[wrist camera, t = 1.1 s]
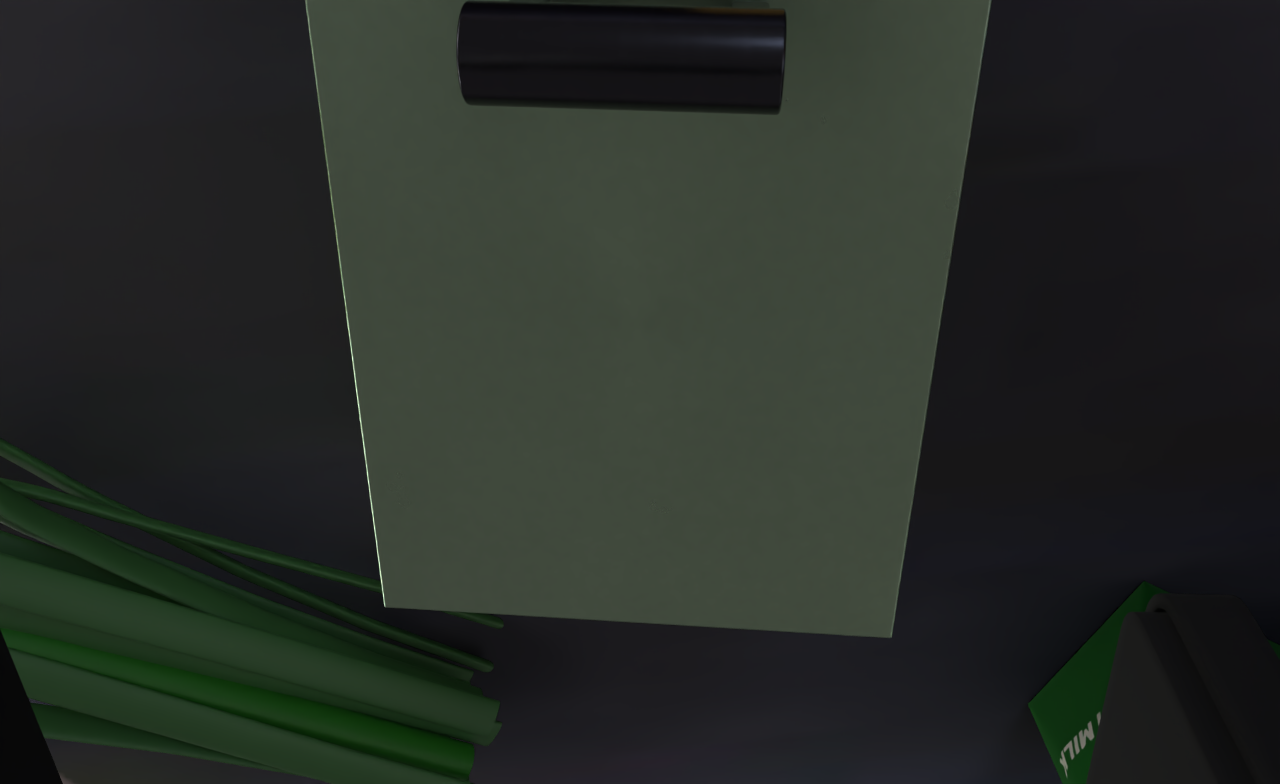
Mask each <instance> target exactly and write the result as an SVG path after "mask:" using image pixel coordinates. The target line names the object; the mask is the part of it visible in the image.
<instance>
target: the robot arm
mask: <svg viewBox="0 0 1280 784" xmlns="http://www.w3.org/2000/svg"><path fill="white" fill-rule="evenodd" d="M0 784H63V783H62V781H61V778H60V776H59V773H58V771H57V768H56V766H55V763H54V761H53V758H52V756H51V753H50V751H49V748H48V746H47V743H46V741H45V739H44V736H43V734H42V731H41V729H40V726H39V724H38V721H37V719H36V716H35V714H34V711H33V709H32V706H31V704H30V701H29V699H28V696H27V694H26V692H25V689H24V687H23V684H22V682H21V679H20V677H19V674H18V672H17V669H16V667H15V664H14V662H13V659H12V657H11V654H10V652H9V649H8V647H7V645H6V642H5V640H4V637H3V635H2V632H1V630H0ZM1086 784H1280V659H1279V658H1278V656H1277V655H1276V653H1275V651H1274V650H1273V648H1272V646H1271V645H1270V643H1269V642H1268V640H1267V638H1266V637H1265V635H1264V633H1263V632H1262V630H1261V628H1260V627H1259V625H1258V624H1257V622H1256V620H1255V619H1254V617H1253V615H1252V614H1251V612H1250V610H1249V609H1248V607H1247V606H1246V605H1245V604H1244V603H1243V601H1242V600H1241V599H1240V598H1238V597H1236V596H1234V595H1211V594H1169V593H1159V594H1156V595H1154V596H1153V597H1152V598H1151V599H1150V601H1149V602H1148V605H1147V608H1146V611H1145V612H1129V613H1127V615H1126V616H1125V617H1124V620H1123V623H1122V626H1121V630H1120V635H1119V639H1118V643H1117V648H1116V652H1115V657H1114V661H1113V666H1112V670H1111V674H1110V679H1109V683H1108V688H1107V692H1106V697H1105V701H1104V705H1103V710H1102V714H1101V719H1100V723H1099V727H1098V732H1097V736H1096V741H1095V745H1094V750H1093V754H1092V758H1091V763H1090V767H1089V772H1088V776H1087V781H1086Z"/></svg>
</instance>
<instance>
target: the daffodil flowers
mask: <svg viewBox="0 0 1280 784" xmlns="http://www.w3.org/2000/svg"><path fill="white" fill-rule="evenodd" d="M0 456H2V457H4V458H6V459H7V460H9V461H11V462H13V463H15V464H17V465H18V466H20V467H22V468H24V469H26V470H28V471H29V472H31V473H33V474H35V475H36V476H38V477H40V478H42V479H43V480H45V481H47V482H49V483H50V484H52V485H54V486H55V487H57V488H59V489H61V490H63V491H65V492H67V493H69V494H67V493H63V492H60V491H56V490H52V489H48V488H44V487H40V486H36V485H32V484H28V483H23V482H18V481H13V480H8V479H3V478H0V523H2V524H4V525H6V526H8V527H10V528H12V529H14V530H16V531H18V532H21V533H23V534H25V535H28V536H30V537H32V538H35V539H37V540H39V541H42V542H44V543H46V544H49V545H51V546H54V547H56V548H58V549H56V548H53V547H50V546H46V545H43V544H40V543H37V542H34V541H31V540H28V539H25V538H22V537H19V536H16V535H13V534H10V533H7V532H4V531H1V530H0V630H1V632H2V635H3V637H4V640H5V642H6V645H7V647H8V649H9V652H10V654H11V657H12V659H13V662H14V664H15V667H16V669H17V672H18V674H19V677H20V679H21V682H22V684H23V687H24V689H25V692H26V694H27V696H28V698H31V699H34V700H38V701H41V702H45V703H48V704H52V705H56V706H51V705H43V704H36V703H30V704H31V706H32V709H33V711H34V714H35V716H36V719H37V721H38V724H39V726H40V729H41V731H42V734H43V736H44V738H50V739H58V740H66V741H74V742H82V743H90V744H98V745H106V746H114V747H122V748H130V749H138V750H146V751H154V752H162V753H170V754H176V755H182V756H188V757H194V758H199V759H205V760H211V761H217V762H223V763H229V764H235V765H240V766H246V767H252V768H258V769H264V770H270V771H276V772H281V773H287V774H293V775H299V776H305V777H310V778H314V779H317V780H321V781H324V782H328V783H331V784H473V783H470V782H469V774H470V771H471V769H472V765H473V761H474V746H473V744H470V743H467V742H463V741H460V740H464V741H468V742H472V743H476V744H480V745H484V746H488V745H489V744H490V743H491V742H492V741H493V740H494V738H495V737H496V735H497V734H498V732H499V730H500V728H501V725H502V722H499V721H496V720H495V719H496V716H497V713H498V710H499V705H500V701H498V700H494V699H491V698H488V697H484V696H483V693H482V690H481V688H478V687H475V686H472V685H470V680H471V678H472V676H473V673H474V671H472V670H469V669H466V668H463V667H460V666H457V665H454V664H451V663H448V662H445V661H442V660H439V659H436V658H433V657H430V656H427V655H424V654H421V653H418V652H415V651H412V650H409V649H406V648H403V647H400V646H397V645H394V644H391V643H388V642H385V641H382V640H379V639H376V638H373V637H370V636H367V635H364V634H362V633H359V632H356V631H354V630H351V629H348V628H345V627H343V626H340V625H337V624H334V623H332V622H329V621H326V620H323V619H321V618H318V617H315V616H312V615H310V614H307V613H304V612H301V611H299V610H296V609H293V608H290V607H288V606H285V605H282V604H280V603H277V602H274V601H271V600H269V599H266V598H263V597H260V596H258V595H255V594H253V593H250V592H248V591H245V590H243V589H240V588H238V587H235V586H233V585H230V584H228V583H225V582H223V581H220V580H218V579H215V578H213V577H210V576H208V575H205V574H202V573H200V572H197V571H195V570H192V569H190V568H187V567H185V566H182V565H180V564H177V563H175V562H172V561H170V560H167V559H165V558H162V557H160V556H157V555H155V554H152V553H150V552H147V551H145V550H142V549H140V548H137V547H135V546H132V545H130V544H127V543H125V542H123V541H120V540H118V539H115V538H113V537H111V536H108V535H106V534H103V533H101V532H99V531H96V530H94V529H92V528H90V527H87V526H85V525H83V524H81V523H78V522H76V521H74V520H71V519H69V518H67V517H64V516H62V515H60V514H57V513H55V512H53V511H51V510H48V509H46V508H44V507H42V506H40V505H38V504H36V503H35V502H33V501H31V500H29V499H28V498H26V497H29V498H33V499H37V500H41V501H45V502H49V503H53V504H56V505H60V506H64V507H67V508H71V509H74V510H78V511H81V512H84V513H88V514H91V515H94V516H98V517H101V518H104V519H108V520H112V521H115V522H119V523H122V524H126V525H130V526H133V527H137V528H139V529H141V530H143V531H145V532H147V533H149V534H151V535H153V536H155V537H157V538H159V539H161V540H163V541H165V542H168V543H170V544H172V545H174V546H176V547H178V548H180V549H182V550H184V551H186V552H188V553H190V554H192V555H194V556H196V557H198V558H200V559H202V560H205V561H207V562H209V563H211V564H213V565H215V566H217V567H219V568H221V569H223V570H225V571H227V572H229V573H231V574H233V575H235V576H237V577H240V578H242V579H244V580H247V581H249V582H251V583H254V584H256V585H259V586H261V587H263V588H266V589H268V590H271V591H273V592H275V593H278V594H280V595H283V596H285V597H287V598H290V599H292V600H295V601H297V602H299V603H302V604H304V605H306V606H309V607H311V608H314V609H316V610H318V611H321V612H323V613H326V614H328V615H330V616H333V617H335V618H338V619H340V620H342V621H345V622H347V623H349V624H352V625H354V626H357V627H359V628H361V629H364V630H366V631H369V632H372V633H375V634H378V635H380V636H383V637H386V638H389V639H392V640H395V641H397V642H400V643H403V644H406V645H409V646H412V647H414V648H417V649H420V650H423V651H426V652H429V653H431V654H434V655H437V656H440V657H443V658H446V659H448V660H451V661H454V662H457V663H460V664H463V665H465V666H468V667H471V668H474V669H477V670H480V671H482V672H490V671H491V670H492V669H493V668H494V665H493V663H492V662H491V661H489V660H486V659H483V658H481V657H478V656H475V655H472V654H469V653H467V652H464V651H461V650H458V649H455V648H453V647H450V646H447V645H444V644H441V643H439V642H436V641H433V640H430V639H427V638H425V637H422V636H419V635H416V634H413V633H411V632H408V631H405V630H402V629H399V628H397V627H394V626H391V625H388V624H385V623H383V622H380V621H377V620H374V619H372V618H369V617H367V616H365V615H362V614H360V613H357V612H355V611H353V610H350V609H348V608H346V607H343V606H341V605H338V604H336V603H334V602H331V601H329V600H327V599H324V598H322V597H320V596H317V595H315V594H312V593H310V592H308V591H305V590H303V589H301V588H298V587H296V586H294V585H291V584H289V583H286V582H284V581H282V580H279V579H277V578H275V577H272V576H270V575H267V574H265V573H263V572H260V571H258V570H256V569H253V568H251V567H249V566H246V565H244V564H242V563H240V562H238V561H236V560H234V559H232V558H230V557H228V556H226V555H224V554H222V553H220V552H218V551H216V550H214V549H218V550H221V551H225V552H229V553H232V554H236V555H240V556H243V557H247V558H251V559H254V560H258V561H262V562H266V563H269V564H273V565H277V566H281V567H284V568H288V569H292V570H296V571H299V572H303V573H307V574H311V575H314V576H318V577H322V578H326V579H329V580H333V581H337V582H341V583H344V584H348V585H352V586H356V587H359V588H363V589H367V590H371V591H374V592H378V593H381V594H383V593H382V585H381V581H379V580H375V579H371V578H368V577H364V576H360V575H356V574H353V573H349V572H345V571H342V570H338V569H334V568H331V567H327V566H323V565H320V564H316V563H312V562H309V561H305V560H301V559H298V558H294V557H290V556H287V555H283V554H279V553H276V552H272V551H268V550H265V549H261V548H257V547H254V546H250V545H246V544H243V543H239V542H236V541H232V540H228V539H225V538H221V537H218V536H214V535H211V534H207V533H203V532H200V531H196V530H193V529H189V528H185V527H182V526H178V525H175V524H171V523H167V522H164V521H160V520H157V519H153V518H150V517H147V516H145V515H143V514H141V513H139V512H137V511H135V510H133V509H131V508H129V507H127V506H124V505H122V504H120V503H118V502H116V501H114V500H112V499H110V498H108V497H106V496H104V495H103V494H101V493H99V492H97V491H95V490H93V489H91V488H89V487H87V486H85V485H83V484H81V483H80V482H78V481H76V480H74V479H72V478H70V477H69V476H67V475H65V474H63V473H61V472H60V471H58V470H56V469H55V468H53V467H51V466H50V465H48V464H46V463H44V462H43V461H41V460H39V459H37V458H36V457H34V456H32V455H30V454H28V453H26V452H25V451H23V450H21V449H19V448H17V447H16V446H14V445H12V444H10V443H9V442H7V441H5V440H3V439H2V438H0ZM212 548H214V549H212ZM59 549H61V550H59ZM62 550H63V551H62ZM65 551H66V552H65ZM441 612H444V613H447V614H451V615H454V616H457V617H461V618H464V619H467V620H470V621H474V622H477V623H480V624H484V625H487V626H490V627H494V628H497V629H501V628H502V627H503V625H504V624H503V621H502V620H501V619H500V618H499V617H495V616H492V615H489V614H485V613H468V612H452V611H441ZM58 706H59V707H58ZM450 737H453V738H456V739H460V740H456V739H452V738H450Z"/></svg>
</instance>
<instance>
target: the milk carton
mask: <svg viewBox="0 0 1280 784" xmlns="http://www.w3.org/2000/svg"><path fill="white" fill-rule="evenodd" d="M1159 593H1169V592H1167V591H1164V590H1162V589H1160V588H1158V587H1156V586H1154V585H1152V584H1150V583H1148V582H1145V581H1144V582H1143V583H1142V584H1141V585H1140V586H1139V587H1138V588H1137V589H1136V590H1135V591H1134V592H1133V593H1132V594H1131V595H1130V596H1129V598H1128V599H1127V600H1126V601H1125V602H1124V603H1123V604H1122V605H1121V606H1120V607H1119V608H1118V609H1117V610H1116V611H1115V612H1114V613H1113V615H1112V616H1111V617H1110V618H1109V619H1108V620H1107V621H1106V622H1105V623H1104V624H1103V625H1102V626H1101V627H1100V628H1099V629H1098V630H1097V631H1096V633H1095V634H1094V635H1093V636H1092V637H1091V638H1090V639H1089V640H1088V641H1087V642H1086V643H1085V644H1084V645H1083V646H1082V647H1081V648H1080V650H1079V651H1078V652H1077V653H1076V654H1075V655H1074V656H1073V657H1072V658H1071V659H1070V660H1069V661H1068V662H1067V663H1066V664H1065V665H1064V667H1063V668H1062V669H1061V670H1060V671H1059V672H1058V673H1057V674H1056V675H1055V676H1054V677H1053V678H1052V679H1051V680H1050V681H1049V682H1048V683H1047V685H1046V686H1045V687H1044V688H1043V689H1042V690H1041V691H1040V692H1039V693H1038V694H1037V695H1036V696H1035V697H1034V698H1033V699H1032V700H1031V702H1029V704H1028V706H1029V708H1030V710H1031V712H1032V715H1033V717H1034V719H1035V721H1036V724H1037V726H1038V728H1039V731H1040V733H1041V735H1042V737H1043V740H1044V742H1045V744H1046V747H1047V749H1048V751H1049V753H1050V756H1051V758H1052V760H1053V763H1054V765H1055V767H1056V770H1057V772H1058V774H1059V776H1060V779H1061V781H1062V783H1063V784H1086V781H1087V776H1088V772H1089V767H1090V763H1091V758H1092V754H1093V750H1094V745H1095V741H1096V736H1097V732H1098V727H1099V723H1100V719H1101V714H1102V710H1103V705H1104V701H1105V697H1106V692H1107V688H1108V683H1109V679H1110V674H1111V670H1112V666H1113V661H1114V657H1115V652H1116V648H1117V643H1118V639H1119V635H1120V630H1121V626H1122V623H1123V620H1124V617H1125V616H1126V615H1127V613H1129V612H1145V611H1146V608H1147V605H1148V602H1149V601H1150V599H1151V598H1152V597H1153V596H1154V595H1156V594H1159ZM1169 594H1171V593H1169ZM1267 640H1268V639H1267ZM1268 642H1269V643H1270V645H1271V646H1272V648H1273V650H1274V651H1275V653H1276V655H1277V656H1278V658H1279V659H1280V645H1278V644H1276V643H1274V642H1272V641H1270V640H1268Z"/></svg>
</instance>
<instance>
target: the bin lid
mask: <svg viewBox="0 0 1280 784" xmlns="http://www.w3.org/2000/svg"><path fill="white" fill-rule="evenodd" d="M305 3H306V11H307V18H308V26H309V34H310V41H311V49H312V57H313V64H314V72H315V80H316V87H317V95H318V103H319V110H320V118H321V126H322V133H323V141H324V149H325V156H326V164H327V172H328V179H329V187H330V195H331V202H332V210H333V217H334V225H335V233H336V240H337V248H338V256H339V263H340V271H341V279H342V286H343V294H344V302H345V309H346V317H347V325H348V332H349V340H350V348H351V355H352V363H353V371H354V378H355V386H356V394H357V401H358V409H359V417H360V424H361V432H362V440H363V447H364V455H365V462H366V470H367V478H368V485H369V493H370V501H371V508H372V516H373V524H374V531H375V539H376V547H377V554H378V562H379V570H380V577H381V585H382V593H383V600H384V606H385V607H386V608H403V609H419V610H436V611H452V612H468V613H485V614H501V615H518V616H534V617H550V618H567V619H583V620H600V621H616V622H633V623H649V624H665V625H682V626H698V627H715V628H731V629H747V630H764V631H780V632H797V633H813V634H829V635H846V636H862V637H879V638H891V637H892V633H893V627H894V620H895V614H896V608H897V601H898V595H899V588H900V582H901V576H902V569H903V563H904V557H905V550H906V544H907V538H908V531H909V525H910V519H911V512H912V506H913V500H914V493H915V487H916V481H917V474H918V468H919V462H920V455H921V449H922V443H923V436H924V430H925V423H926V417H927V411H928V404H929V398H930V392H931V385H932V379H933V373H934V366H935V360H936V354H937V347H938V341H939V335H940V328H941V322H942V316H943V309H944V303H945V297H946V290H947V284H948V278H949V271H950V265H951V258H952V252H953V246H954V239H955V233H956V227H957V220H958V214H959V208H960V201H961V195H962V189H963V182H964V176H965V170H966V163H967V157H968V151H969V144H970V138H971V132H972V125H973V119H974V113H975V106H976V100H977V93H978V87H979V81H980V74H981V68H982V62H983V55H984V49H985V43H986V36H987V30H988V24H989V17H990V11H991V5H992V0H305Z"/></svg>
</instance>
